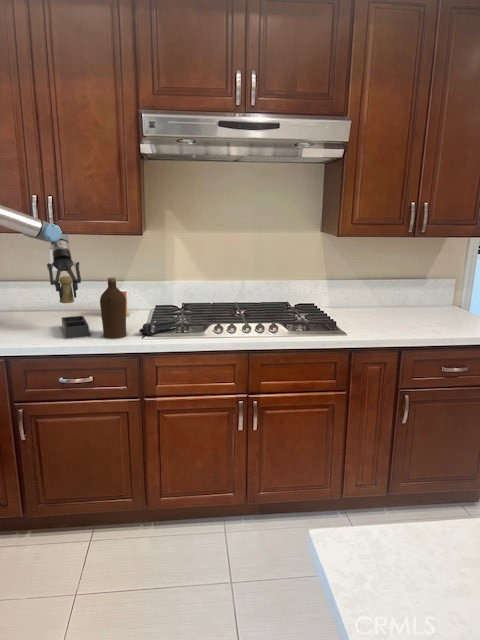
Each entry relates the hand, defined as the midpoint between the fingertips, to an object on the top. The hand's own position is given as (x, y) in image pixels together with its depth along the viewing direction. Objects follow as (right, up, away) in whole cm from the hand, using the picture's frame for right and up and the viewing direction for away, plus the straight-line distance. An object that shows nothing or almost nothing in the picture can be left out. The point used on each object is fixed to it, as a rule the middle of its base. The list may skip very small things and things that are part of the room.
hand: (68, 296), depth 198 cm
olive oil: (+20, -17, +1) cm, 26 cm away
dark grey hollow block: (+1, -15, +6) cm, 16 cm away
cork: (-2, -2, +4) cm, 5 cm away
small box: (+13, -8, +33) cm, 37 cm away
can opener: (+38, -15, +7) cm, 41 cm away
